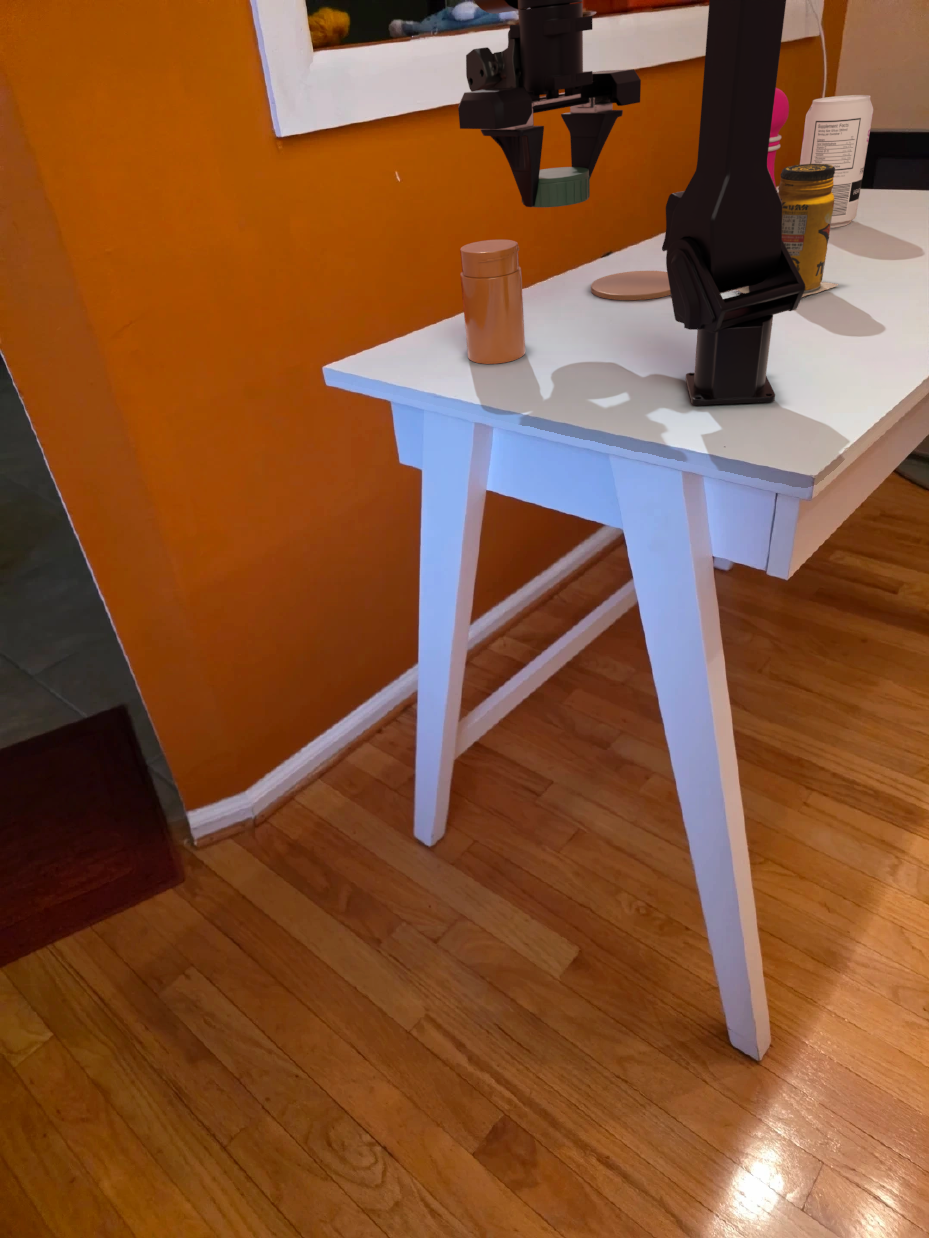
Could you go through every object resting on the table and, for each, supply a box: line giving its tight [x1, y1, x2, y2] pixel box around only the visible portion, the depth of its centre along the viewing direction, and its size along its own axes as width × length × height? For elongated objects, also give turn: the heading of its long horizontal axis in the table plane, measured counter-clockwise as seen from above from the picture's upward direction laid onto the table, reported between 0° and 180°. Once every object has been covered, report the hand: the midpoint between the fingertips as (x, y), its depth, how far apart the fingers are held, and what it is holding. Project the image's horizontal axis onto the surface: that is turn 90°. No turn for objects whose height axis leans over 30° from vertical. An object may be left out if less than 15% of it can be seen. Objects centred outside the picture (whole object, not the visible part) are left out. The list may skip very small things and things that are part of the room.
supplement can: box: [799, 94, 874, 229], centre depth 112 cm, size 8×8×15 cm
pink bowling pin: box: [767, 87, 790, 188], centre depth 98 cm, size 7×7×20 cm
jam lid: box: [521, 166, 591, 208], centre depth 81 cm, size 7×7×2 cm
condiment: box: [736, 164, 839, 298], centre depth 88 cm, size 7×8×12 cm
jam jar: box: [459, 239, 526, 365], centre depth 80 cm, size 6×6×10 cm
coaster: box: [590, 270, 671, 301], centre depth 98 cm, size 11×11×1 cm
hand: (555, 200), depth 82 cm, fingers closed on jam lid, 6 cm apart
